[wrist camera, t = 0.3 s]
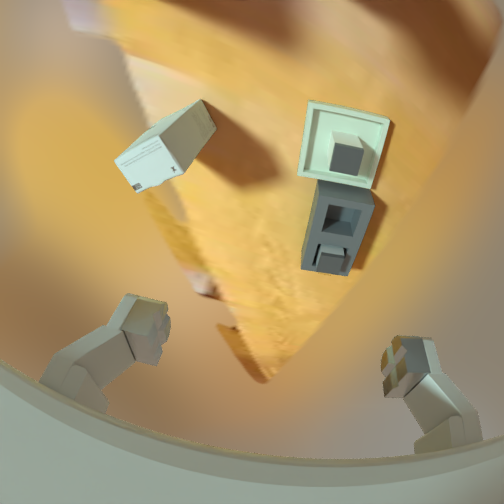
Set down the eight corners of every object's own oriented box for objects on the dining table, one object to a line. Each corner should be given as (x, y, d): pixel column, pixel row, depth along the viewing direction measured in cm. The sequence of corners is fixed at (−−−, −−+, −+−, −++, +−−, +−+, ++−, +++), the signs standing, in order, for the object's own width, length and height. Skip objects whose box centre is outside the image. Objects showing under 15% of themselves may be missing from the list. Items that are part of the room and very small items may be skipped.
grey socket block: (317, 179, 46) (318, 197, 42) (369, 189, 46) (375, 207, 42) (301, 250, 57) (300, 271, 53) (345, 257, 57) (347, 278, 53)
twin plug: (320, 232, 52) (321, 255, 48) (341, 235, 52) (344, 258, 48) (316, 248, 55) (316, 271, 51) (336, 251, 55) (338, 275, 50)
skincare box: (201, 97, 39) (160, 130, 29) (219, 130, 43) (187, 174, 32) (158, 120, 43) (110, 159, 32) (176, 149, 46) (135, 196, 35)
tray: (308, 99, 37) (308, 102, 36) (387, 116, 37) (390, 120, 35) (297, 170, 46) (297, 175, 44) (368, 183, 45) (370, 189, 44)
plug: (331, 130, 40) (335, 144, 35) (357, 135, 39) (364, 150, 35) (326, 153, 42) (329, 170, 38) (351, 158, 42) (357, 176, 38)
